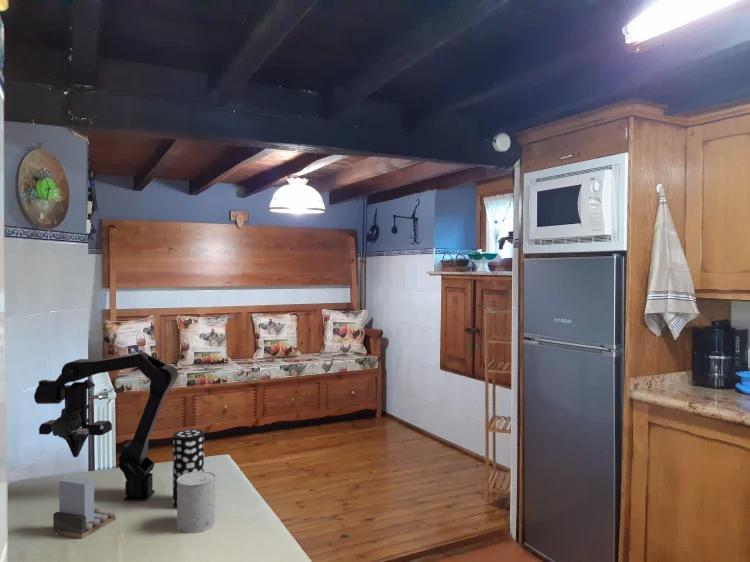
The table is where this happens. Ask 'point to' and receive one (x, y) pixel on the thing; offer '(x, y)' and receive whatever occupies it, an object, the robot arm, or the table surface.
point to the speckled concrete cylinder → (195, 502)
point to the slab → (77, 497)
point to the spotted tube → (187, 455)
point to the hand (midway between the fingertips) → (75, 456)
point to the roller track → (80, 523)
